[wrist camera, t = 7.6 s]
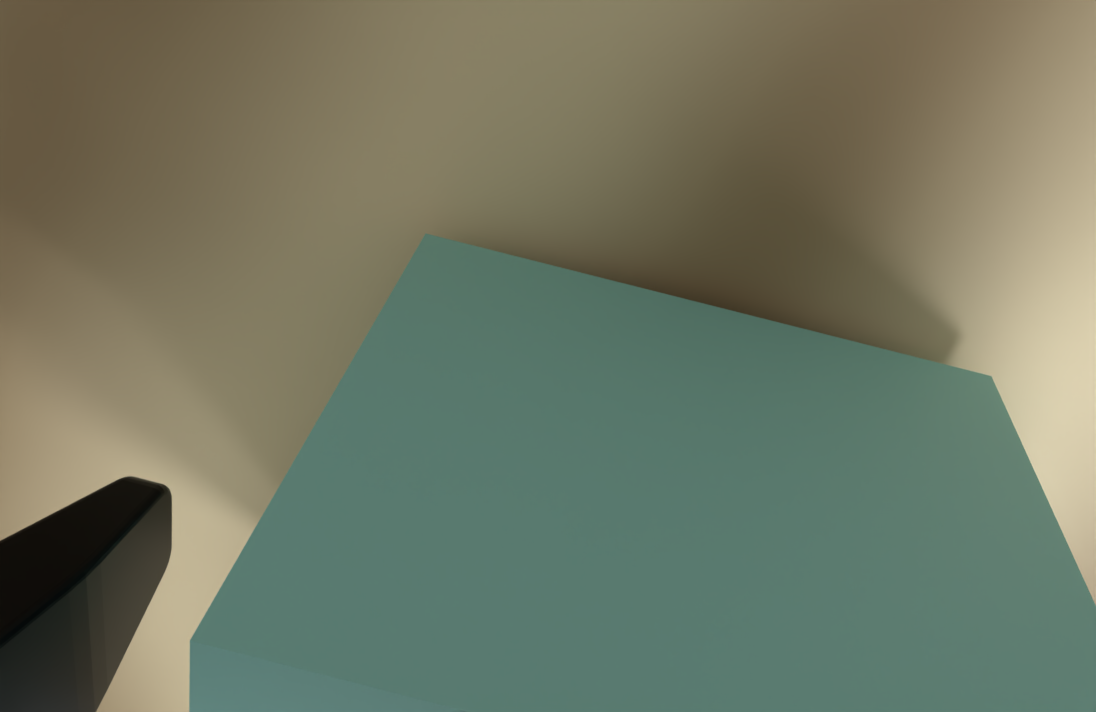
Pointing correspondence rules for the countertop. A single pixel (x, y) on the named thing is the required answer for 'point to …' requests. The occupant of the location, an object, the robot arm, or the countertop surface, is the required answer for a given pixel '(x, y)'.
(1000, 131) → the post board
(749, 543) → the teal cube with pad
